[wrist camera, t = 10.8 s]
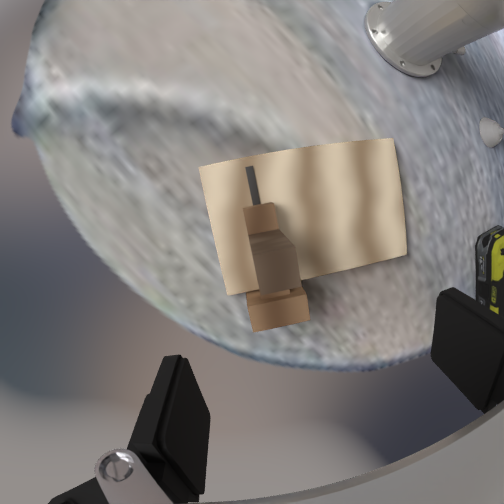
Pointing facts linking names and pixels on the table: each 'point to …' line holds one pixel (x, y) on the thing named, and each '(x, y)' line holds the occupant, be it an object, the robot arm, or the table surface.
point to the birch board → (310, 207)
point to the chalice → (490, 132)
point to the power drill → (490, 269)
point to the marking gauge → (273, 273)
